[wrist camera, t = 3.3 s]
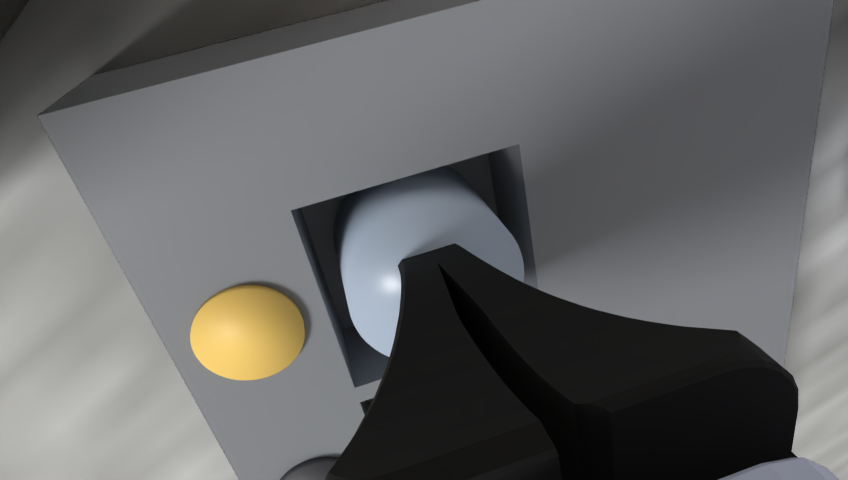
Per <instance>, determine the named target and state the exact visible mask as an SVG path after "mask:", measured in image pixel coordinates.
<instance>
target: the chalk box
mask: <svg viewBox="0 0 848 480" xmlns="http://www.w3.org/2000/svg"><path fill="white" fill-rule="evenodd" d="M27 2H28V0H0V40H1V39H2V38H3V36H4V35H5V33H6V32H7V30H8V29H9V27H10V26H11V24H12V23H13V22H14V21H15V19H16V18H17V17H18V15H19V14H20V12H21V11H22V10H23V8H24V7H25V5H26V3H27Z"/></svg>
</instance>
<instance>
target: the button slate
mask: <svg viewBox="0 0 848 480" xmlns="http://www.w3.org/2000/svg"><path fill="white" fill-rule="evenodd" d="M333 236H334V246H335V250H336V255H337V259H338V264H339V268H340V272H341V277H342V281H343V286H344V290H345V295H346V299H347V304H348V308H349V312H350V316H351V319H352V321H353V324H354V326H355V328H356V329H357V331H358V333H359V334H360V336H361V337H362V338H363V339H364V340H365V341H366V342H367V343H368V344H369V345H370V346H371V347H373V348H374V349H375V350H377V351H379V352H380V353H382V354H384V355H386V356H388V357H390V353H391V350H392V346H393V342H394V338H395V333H396V327H397V322H398V317H399V309H400V298H401V276H400V272H399V268H398V265H399V263H400V261H401V260H402V259H406V258H409V257H412V256H415V255H419V254H422V253H425V252H428V251H432V250H435V249H438V248H441V247H444V246H448V245H451V244H454V243H456V244H457V245H459V246H461V247H462V248H464V249H466V250H467V251H469V252H470V253H472V254H474V255H475V256H477V257H478V258H480V259H482V260H483V261H485V262H487V263H488V264H490V265H492V266H493V267H495V268H497V269H499V270H500V271H502V272H504V273H506V274H508V275H510V276H511V277H513V278H515V279H517V280H519V281H521V282H524V263H523V258H522V254H521V251H520V249H519V246H518V244H517V242H516V240H515V239H514V237H513V235H512V234H511V233H510V232H509V231H508V229H507V228H506V227H505V226H504V225H503V223H502V222H501V221H500V220H499V219H498V218H497V216H496V215H495V214H494V213H493V212H492V210H491V209H490V208H489V207H488V206H487V205H486V203H485V202H484V201H483V200H482V199H481V197H480V196H479V195H478V194H477V193H476V192H475V190H474V189H473V188H472V187H471V186H470V184H469V183H468V182H467V181H466V180H465V179H464V178H463V177H462V176H461V175H460V174H459V173H458V172H456V171H454V170H453V169H451V168H450V167H448V166H442V167H438V168H435V169H431V170H428V171H424V172H421V173H418V174H414V175H411V176H407V177H404V178H400V179H397V180H394V181H390V182H387V183H383V184H380V185H376V186H373V187H370V188H366V189H363V190H359V191H356V192H352V193H349V194H347V195H346V196H345V198H344V199H343V201H342V203H341V205H340V207H339V209H338V212H337V215H336V218H335V223H334V234H333Z"/></svg>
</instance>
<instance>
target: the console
mask: <svg viewBox="0 0 848 480" xmlns="http://www.w3.org/2000/svg"><path fill="white" fill-rule="evenodd" d="M833 3H834V0H386V1H382V2H378V3H375V4H371V5H367V6H363V7H359V8H355V9H351V10H347V11H343V12H339V13H335V14H331V15H328V16H324V17H320V18H316V19H312V20H308V21H304V22H300V23H296V24H292V25H288V26H284V27H281V28H277V29H273V30H269V31H265V32H261V33H257V34H253V35H249V36H245V37H241V38H237V39H234V40H230V41H226V42H222V43H218V44H214V45H210V46H206V47H202V48H198V49H194V50H190V51H187V52H183V53H179V54H175V55H171V56H167V57H163V58H159V59H155V60H151V61H147V62H143V63H140V64H136V65H132V66H128V67H124V68H120V69H116V70H112V71H108V72H104V73H100V74H96V75H93V76H90V77H89V78H87V79H86V80H85V81H83V82H82V83H81V84H79V85H78V86H76V87H75V88H74V89H72V90H71V91H70V92H68V93H67V94H66V95H64V96H63V97H62V98H60V99H59V100H58V101H56V102H55V103H54V104H52V105H51V106H50V107H48V108H47V109H45V110H44V111H43V112H41V113H40V114H39V115H37V117H38V119H39V121H40V123H41V124H42V126H43V128H44V130H45V132H46V133H47V135H48V137H49V139H50V141H51V142H52V144H53V146H54V148H55V150H56V151H57V153H58V155H59V157H60V159H61V160H62V162H63V164H64V166H65V168H66V169H67V171H68V173H69V175H70V177H71V178H72V180H73V182H74V184H75V186H76V187H77V189H78V191H79V193H80V195H81V196H82V198H83V200H84V202H85V204H86V205H87V207H88V209H89V211H90V213H91V214H92V216H93V218H94V220H95V222H96V223H97V225H98V227H99V229H100V231H101V232H102V234H103V236H104V238H105V240H106V241H107V243H108V245H109V247H110V249H111V250H112V252H113V254H114V256H115V258H116V259H117V261H118V263H119V265H120V267H121V268H122V270H123V272H124V274H125V276H126V277H127V279H128V281H129V283H130V285H131V286H132V288H133V290H134V292H135V294H136V295H137V297H138V299H139V301H140V303H141V304H142V306H143V308H144V310H145V312H146V313H147V315H148V317H149V319H150V321H151V322H152V324H153V326H154V328H155V330H156V331H157V333H158V335H159V337H160V339H161V340H162V342H163V344H164V346H165V348H166V349H167V351H168V353H169V355H170V357H171V358H172V360H173V362H174V364H175V366H176V367H177V369H178V371H179V373H180V375H181V376H182V378H183V380H184V382H185V384H186V385H187V387H188V389H189V391H190V393H191V394H192V396H193V398H194V400H195V402H196V403H197V405H198V407H199V409H200V411H201V412H202V414H203V416H204V418H205V420H206V421H207V423H208V425H209V427H210V429H211V430H212V432H213V434H214V436H215V438H216V439H217V441H218V443H219V445H220V447H221V448H222V450H223V452H224V454H225V456H226V457H227V459H228V461H229V463H230V465H231V466H232V468H233V470H234V472H235V474H236V475H237V477H238V479H239V480H325V477H326V475H327V473H328V472H329V471H330V470H331V468H332V467H333V465H334V464H335V463H336V461H337V460H338V458H339V457H340V455H341V454H342V452H343V451H344V450H345V448H346V447H347V445H348V444H349V442H350V441H351V439H352V437H353V436H354V434H355V432H356V431H357V429H358V427H359V425H360V423H361V421H362V420H363V418H364V416H365V414H366V412H367V410H368V409H369V407H370V405H371V403H372V401H373V399H374V396H375V394H376V392H377V389H378V387H379V384H380V382H381V379H382V377H383V374H384V372H385V369H386V366H387V363H388V360H389V357H388V356H386V355H384V354H382V353H380V352H379V351H377V350H375V349H374V348H373V347H371V346H370V345H369V344H368V343H367V342H366V341H365V340H364V339H363V338H362V337H361V336H360V334H359V333H358V331H357V329H356V328H355V326H354V324H353V321H352V319H351V316H350V312H349V308H348V304H347V299H346V295H345V290H344V286H343V281H342V277H341V272H340V268H339V264H338V259H337V255H336V250H335V246H334V236H333V234H334V223H335V218H336V215H337V212H338V209H339V207H340V205H341V203H342V201H343V199H344V198H345V196H346V195H347V194H349V193H352V192H356V191H359V190H363V189H366V188H370V187H373V186H376V185H380V184H383V183H387V182H390V181H394V180H397V179H400V178H404V177H407V176H411V175H414V174H418V173H421V172H424V171H428V170H431V169H435V168H438V167H442V166H448V167H450V168H451V169H453V170H454V171H456V172H458V173H459V174H460V175H461V176H462V177H463V178H464V179H465V180H466V181H467V182H468V183H469V184H470V186H471V187H472V188H473V189H474V190H475V192H476V193H477V194H478V195H479V196H480V197H481V199H482V200H483V201H484V202H485V203H486V205H487V206H488V207H489V208H490V209H491V210H492V212H493V213H494V214H495V215H496V216H497V218H498V219H499V220H500V221H501V222H502V223H503V225H504V226H505V227H506V228H507V229H508V231H509V232H510V233H511V234H512V235H513V237H514V239H515V240H516V242H517V244H518V246H519V249H520V251H521V254H522V258H523V263H524V282H523V283H525V284H528V285H530V286H532V287H534V288H536V289H539V290H541V291H543V292H545V293H548V294H551V295H553V296H556V297H558V298H561V299H564V300H567V301H570V302H573V303H576V304H579V305H582V306H585V307H588V308H592V309H595V310H599V311H603V312H607V313H611V314H615V315H619V316H623V317H628V318H633V319H639V320H644V321H650V322H656V323H663V324H669V325H676V326H685V327H698V328H710V329H723V330H735V331H738V332H739V333H741V334H742V335H744V336H745V337H746V338H748V339H749V340H750V341H752V342H753V343H754V344H756V345H757V346H758V347H760V348H761V349H762V350H763V351H764V352H766V353H767V354H768V355H769V356H770V357H771V358H773V359H774V360H775V361H776V362H777V363H779V364H780V365H781V366H782V367H783V368H784V361H785V353H786V346H787V339H788V331H789V324H790V317H791V310H792V302H793V295H794V288H795V280H796V273H797V266H798V259H799V251H800V244H801V237H802V229H803V222H804V215H805V207H806V200H807V193H808V186H809V178H810V171H811V164H812V156H813V149H814V142H815V135H816V127H817V120H818V113H819V105H820V98H821V91H822V83H823V76H824V69H825V62H826V54H827V47H828V40H829V32H830V25H831V18H832V11H833Z"/></svg>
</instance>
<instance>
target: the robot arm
mask: <svg viewBox="0 0 848 480" xmlns="http://www.w3.org/2000/svg"><path fill="white" fill-rule="evenodd" d="M398 268H399V272H400V276H401V298H400V309H399V317H398V322H397V327H396V333H395V338H394V342H393V346H392V350H391V353H390V357H389V360H388V363H387V366H386V369H385V372H384V374H383V377H382V379H381V382H380V384H379V387H378V389H377V392H376V394H375V396H374V399H373V401H372V403H371V405H370V407H369V409H368V410H367V412H366V414H365V416H364V418H363V420H362V421H361V423H360V425H359V427H358V429H357V431H356V432H355V434H354V436H353V437H352V439H351V441H350V442H349V444H348V445H347V447H346V448H345V450H344V451H343V452H342V454H341V455H340V457H339V458H338V460H337V461H336V463H335V464H334V465H333V467H332V468H331V470H330V471H329V472H328V473H327V475H326V477H325V480H839V479H838V478H837V477H836V476H835V475H834V474H833V473H832V472H831V471H830V470H828V469H827V468H826V467H824V466H822V465H819V464H817V463H815V462H812V461H810V460H808V459H806V458H798V457H797V456H795V455H794V454H793V453H792V452H791V450H792V444H793V437H794V431H795V425H796V419H797V413H798V388H797V385H796V383H795V380H794V378H793V376H792V375H791V374H790V373H789V372H788V371H787V370H785V369H784V368H783V367H782V366H781V365H780V364H779V363H777V362H776V361H775V360H774V359H773V358H771V357H770V356H769V355H768V354H767V353H766V352H764V351H763V350H762V349H761V348H760V347H758V346H757V345H756V344H754V343H753V342H752V341H750V340H749V339H748V338H746V337H745V336H744V335H742V334H741V333H739V332H738V331H735V330H723V329H710V328H698V327H685V326H676V325H669V324H663V323H656V322H650V321H644V320H639V319H633V318H628V317H623V316H619V315H615V314H611V313H607V312H603V311H599V310H595V309H592V308H588V307H585V306H582V305H579V304H576V303H573V302H570V301H567V300H564V299H561V298H558V297H556V296H553V295H551V294H548V293H545V292H543V291H541V290H539V289H536V288H534V287H532V286H530V285H528V284H525V283H523V282H521V281H519V280H517V279H515V278H513V277H511V276H510V275H508V274H506V273H504V272H502V271H500V270H499V269H497V268H495V267H493V266H492V265H490V264H488V263H487V262H485V261H483V260H482V259H480V258H478V257H477V256H475V255H474V254H472V253H470V252H469V251H467V250H466V249H464V248H462V247H461V246H459V245H457V244H456V243H454V244H451V245H448V246H444V247H441V248H438V249H435V250H432V251H428V252H425V253H422V254H419V255H415V256H412V257H409V258H406V259H402V260H401V261H400V263H399V265H398Z"/></svg>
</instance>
